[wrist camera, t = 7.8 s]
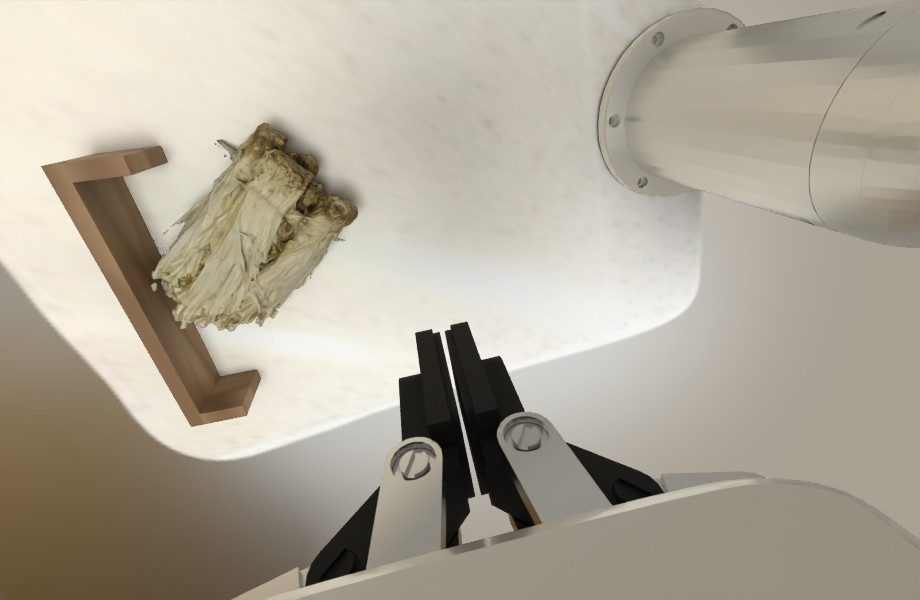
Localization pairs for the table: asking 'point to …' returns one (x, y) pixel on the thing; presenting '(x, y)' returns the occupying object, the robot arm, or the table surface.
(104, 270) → the stand
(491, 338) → the table surface
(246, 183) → the beige fibrous lump
